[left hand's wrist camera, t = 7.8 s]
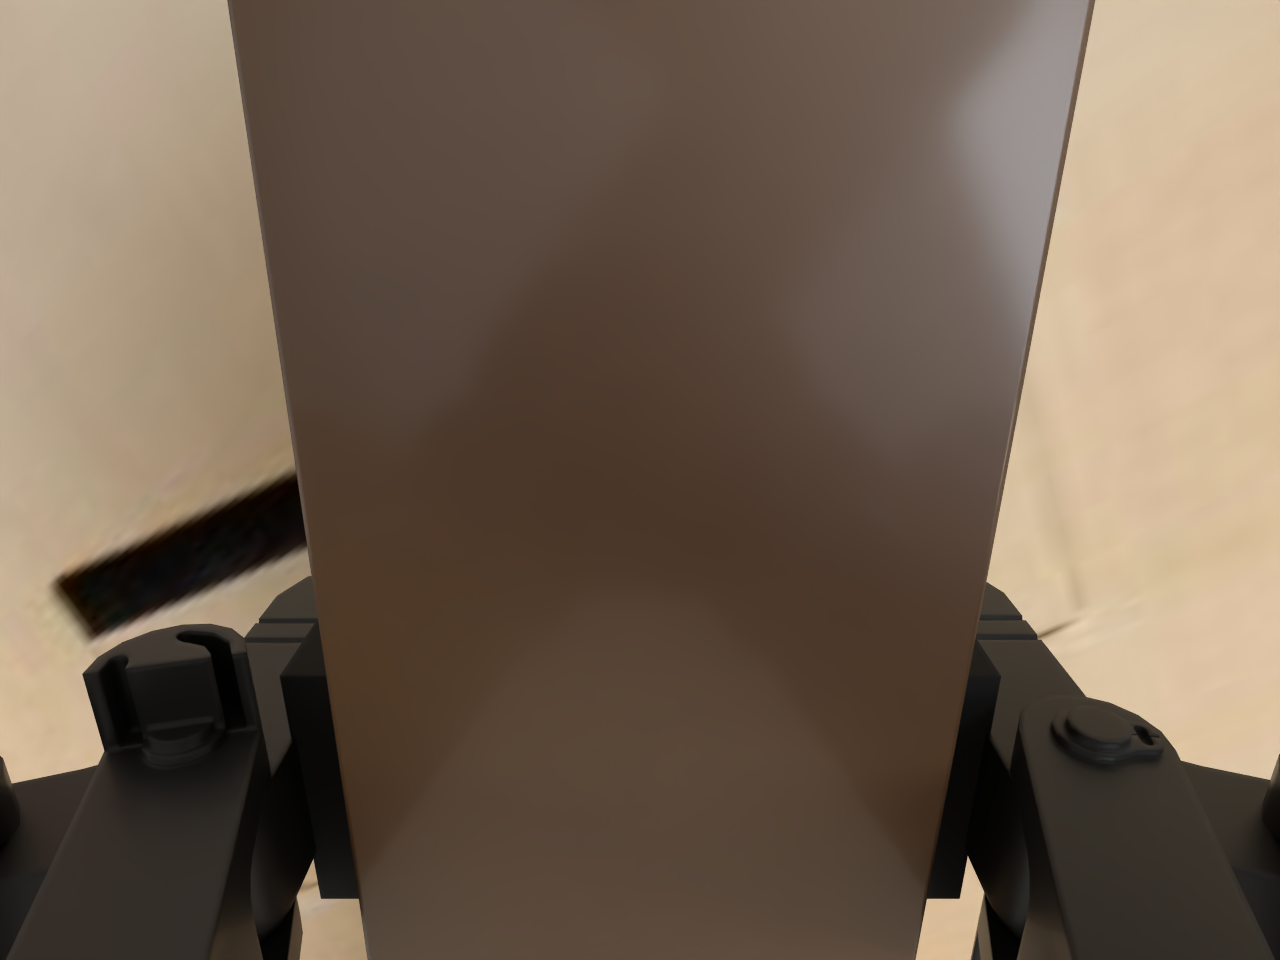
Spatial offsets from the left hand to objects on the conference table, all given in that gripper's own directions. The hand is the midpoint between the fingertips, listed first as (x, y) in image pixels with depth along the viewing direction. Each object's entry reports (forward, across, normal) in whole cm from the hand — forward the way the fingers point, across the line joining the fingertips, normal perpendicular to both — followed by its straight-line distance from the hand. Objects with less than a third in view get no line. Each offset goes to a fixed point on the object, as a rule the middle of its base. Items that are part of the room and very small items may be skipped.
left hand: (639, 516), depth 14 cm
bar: (+1, 0, -29) cm, 29 cm away
